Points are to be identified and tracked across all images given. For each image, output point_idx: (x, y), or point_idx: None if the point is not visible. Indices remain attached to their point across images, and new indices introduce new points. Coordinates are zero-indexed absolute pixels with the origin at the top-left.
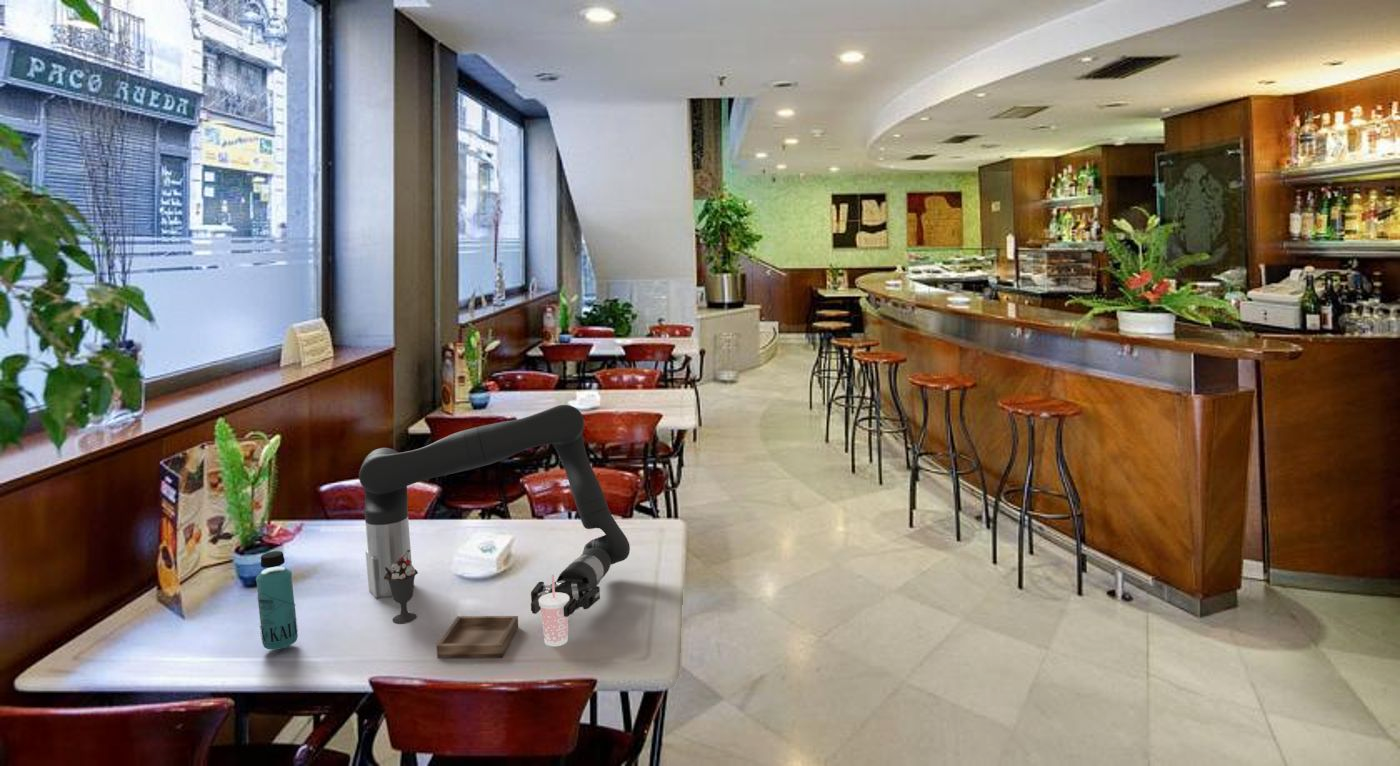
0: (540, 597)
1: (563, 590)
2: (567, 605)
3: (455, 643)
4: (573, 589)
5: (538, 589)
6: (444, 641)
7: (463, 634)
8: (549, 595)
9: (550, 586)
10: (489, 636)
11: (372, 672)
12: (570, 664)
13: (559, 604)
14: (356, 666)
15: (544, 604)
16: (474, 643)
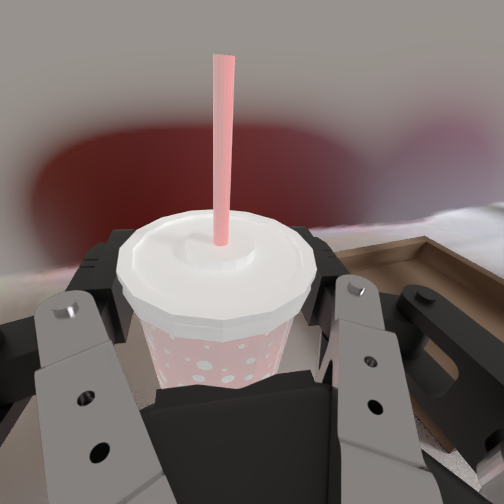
0: (306, 245)
1: (245, 404)
2: (114, 234)
3: (405, 245)
4: (101, 377)
5: (452, 337)
6: (438, 251)
7: (489, 318)
8: (283, 278)
9: (396, 367)
10: None
11: (438, 224)
12: None
13: (158, 219)
14: (476, 228)
15: (233, 212)
16: (371, 252)
